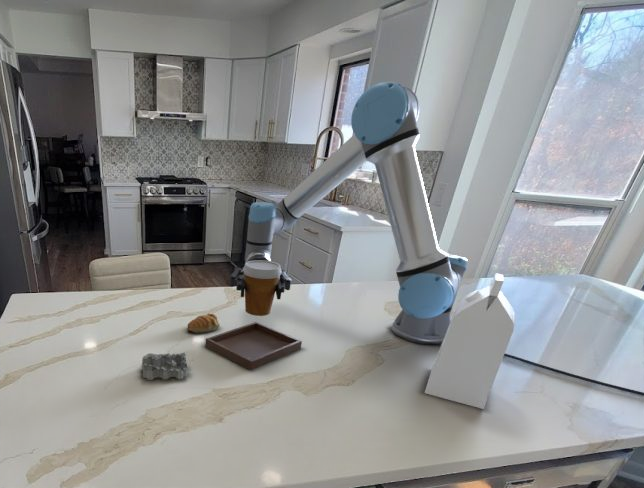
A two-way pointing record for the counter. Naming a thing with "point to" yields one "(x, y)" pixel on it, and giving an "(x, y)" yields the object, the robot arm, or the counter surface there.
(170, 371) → the egg carton
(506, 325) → the milk
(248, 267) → the disposable coffee cup
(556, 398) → the counter surface
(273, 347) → the serving tray
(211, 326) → the pastry
